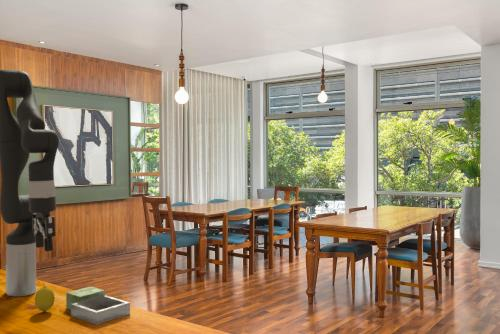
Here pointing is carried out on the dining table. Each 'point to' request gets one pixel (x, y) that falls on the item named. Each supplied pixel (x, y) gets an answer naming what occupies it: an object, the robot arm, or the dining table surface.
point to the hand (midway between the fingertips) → (44, 249)
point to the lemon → (44, 298)
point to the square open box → (95, 305)
